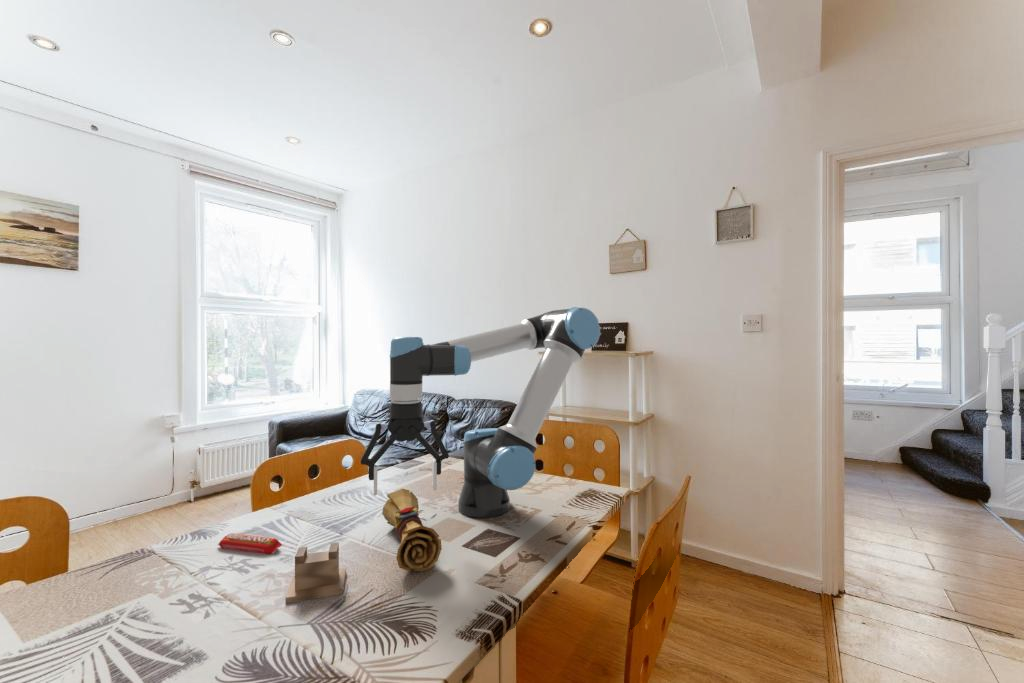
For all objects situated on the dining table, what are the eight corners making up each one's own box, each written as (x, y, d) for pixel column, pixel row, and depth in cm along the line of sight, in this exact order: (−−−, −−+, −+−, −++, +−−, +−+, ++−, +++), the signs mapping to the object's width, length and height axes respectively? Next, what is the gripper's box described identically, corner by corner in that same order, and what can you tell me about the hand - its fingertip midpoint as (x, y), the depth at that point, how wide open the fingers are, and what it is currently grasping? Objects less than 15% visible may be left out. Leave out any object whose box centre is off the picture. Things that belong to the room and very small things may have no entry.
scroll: (443, 570, 92) (442, 523, 92) (397, 580, 88) (396, 531, 88) (418, 521, 117) (417, 485, 117) (381, 528, 113) (381, 490, 113)
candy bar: (215, 549, 102) (215, 537, 102) (228, 542, 105) (228, 530, 105) (272, 557, 98) (272, 544, 98) (284, 549, 102) (284, 537, 102)
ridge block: (346, 572, 91) (345, 537, 91) (342, 593, 83) (342, 555, 83) (294, 580, 88) (293, 543, 88) (285, 603, 80) (285, 563, 80)
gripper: (455, 397, 109) (455, 481, 109) (351, 401, 102) (350, 490, 102) (460, 401, 102) (460, 491, 102) (349, 405, 95) (348, 501, 95)
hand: (405, 490), depth 102 cm, fingers open, 13 cm apart
